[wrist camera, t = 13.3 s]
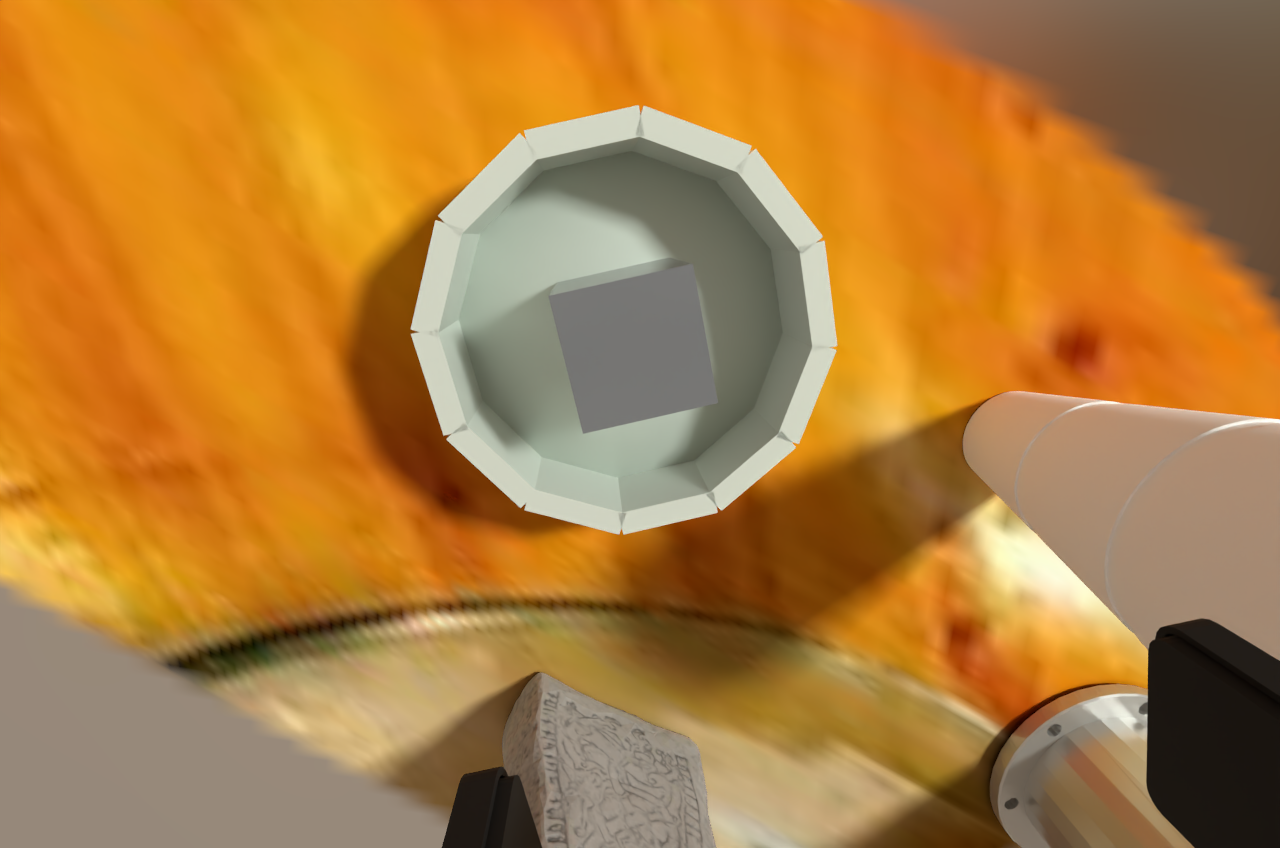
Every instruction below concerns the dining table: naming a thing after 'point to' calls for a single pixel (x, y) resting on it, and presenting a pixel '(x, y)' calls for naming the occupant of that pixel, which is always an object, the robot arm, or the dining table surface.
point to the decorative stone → (603, 773)
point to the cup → (1145, 504)
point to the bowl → (608, 240)
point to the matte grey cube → (634, 343)
